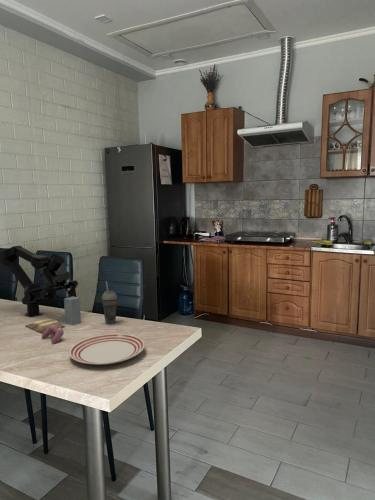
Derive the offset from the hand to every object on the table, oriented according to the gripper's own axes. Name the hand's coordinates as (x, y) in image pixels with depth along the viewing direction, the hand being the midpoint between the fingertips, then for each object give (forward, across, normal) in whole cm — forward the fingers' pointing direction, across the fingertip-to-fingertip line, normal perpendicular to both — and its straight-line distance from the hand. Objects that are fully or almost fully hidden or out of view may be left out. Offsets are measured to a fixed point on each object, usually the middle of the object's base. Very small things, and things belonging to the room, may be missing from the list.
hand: (69, 302), depth 177 cm
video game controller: (+16, -19, -2) cm, 25 cm away
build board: (+4, -11, +10) cm, 15 cm away
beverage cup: (+19, +9, -5) cm, 22 cm away
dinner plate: (+38, -19, -23) cm, 48 cm away
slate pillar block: (+8, 0, +5) cm, 10 cm away
